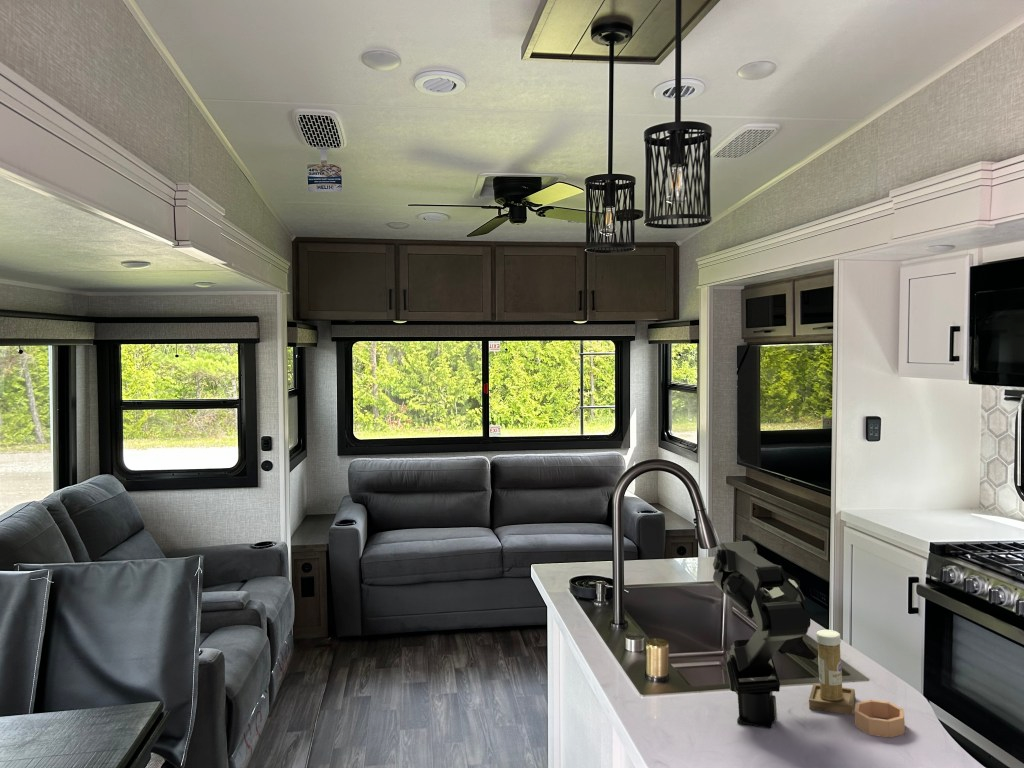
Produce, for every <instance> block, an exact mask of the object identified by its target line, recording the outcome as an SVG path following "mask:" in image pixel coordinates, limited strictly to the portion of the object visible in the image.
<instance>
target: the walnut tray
mask: <svg viewBox="0 0 1024 768" xmlns="http://www.w3.org/2000/svg"><path fill="white" fill-rule="evenodd" d="M812 684H813V685H812V688H811V691H810V695H809V699H808V705H809V710H811V709H812V710H817V711H824V712H831V713H839V714H844V715H851V716H852V715H853V714H854V709H855V703H856V702H855V700H856V690H855V688H851V687H850V688H848V687H842V692H843V699H842V700H840V701H827V700H824V699H823V698H821V696H820V683H819V684H817V683H812Z"/></svg>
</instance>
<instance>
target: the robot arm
mask: <svg viewBox="0 0 1024 768" xmlns="http://www.w3.org/2000/svg"><path fill="white" fill-rule="evenodd" d="M719 546H720V548H717V550H716V554H715V556H714V560H713V563H712V566H713V570H714V572H713V575H712V580H713V583H714V584H715V586H716V587H717V588H718V589H719V590H721V592H722V593H724V594H725V596H727V597H728V598H729V599H730V600H732V602H734V604H736V605H737V606H738V607H739V608H740V609H741V610H743V611H744V612H745V614H746V616H747V617H748V618H749V619H753V620H754V621H755V623H756V626H757V628H756V630H755V631H754V632H753V634H752V636H751V637H750V638H747V639H736V640H734V641H733V643H732V645H730V649H729V654H728V655H727V656H726V663H725V667H726V671H727V676H728V680H729V689H730V692H734V693H735V694H736V695H737V703H738V704H737V705H738V717H737V719H736V723H737V724H740V725H741V724H742V725H747V726H754V727H760V728H764V729H765V728H767V729H771V728H772V727H773V723H774V722H775V721H776V718H777V716H778V713H777V711H778V710H777V696H776V695H773V693H774V692H776V693H779V692H780V687H781V682H780V680H779V676H778V673H777V669H776V665H775V662H774V660H773V658H774V656H775V655H776V653H777V652H779V654H781V655H782V654H788V655H793V656H796V657H800V658H803V659H807V660H810V661H814V660H816V658H817V655H816V653H814V651H813V650H812V649H811V648H810V647H811V646H809V645H808V643H807V642H806V641H805V640H804V636H805V635H807V633H808V632H809V628H810V626H811V622H812V621H811V615H810V611H809V609H808V607H807V604H806V598H805V596H804V593H803V592H802V591H801V589H800V587H799V585H798V583H797V582H796V581H795V580H793V579H791V578H788V579H787V577H786V574H785V571H784V568H783V567H782V565H778V564H774V563H773V562H771V561H769V560H767V559H765V558H764V557H763V556H761V555H759V551H758V547H757V546H756V545H755V544H754V543H753V542H752V541H751V540H745V541H744V540H743V541H733V542H732V541H730V542H721V543H720V544H719ZM770 588H772V589H770ZM767 589H770V590H769V591H768V590H767ZM758 678H764V679H758ZM743 679H747V680H743ZM748 679H750V680H748ZM751 679H752V680H751Z"/></svg>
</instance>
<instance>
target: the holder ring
mask: <svg viewBox="0 0 1024 768" xmlns="http://www.w3.org/2000/svg"><path fill="white" fill-rule="evenodd" d="M905 723H906V722H905V710H904V709H903V708H901V707H900V706H898V705H896V704H894V703H892V702H890V701H883V700H875V699H867V700H862V701H858V702H855V703H854V724H855V727H856V728H858V729H860V730H861V731H863V733H865V734H868V735H869V736H870V735H871V736H877V737H884V738H893V737H894V738H895V737H897V736H901V735H905V734H906V724H905Z"/></svg>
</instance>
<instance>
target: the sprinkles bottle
mask: <svg viewBox="0 0 1024 768" xmlns="http://www.w3.org/2000/svg"><path fill="white" fill-rule="evenodd" d="M816 642H817V652H818V655H817V661H818V679H819V685H820V696H821V698H823V699H824V700H827V701H840V700H842V699H843V692H842V688H843V672H842V671H843V670H842V659H841V643H842V641H841V633H839V632H838V631H836V630H833V629H821V630H818V631H816Z"/></svg>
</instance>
